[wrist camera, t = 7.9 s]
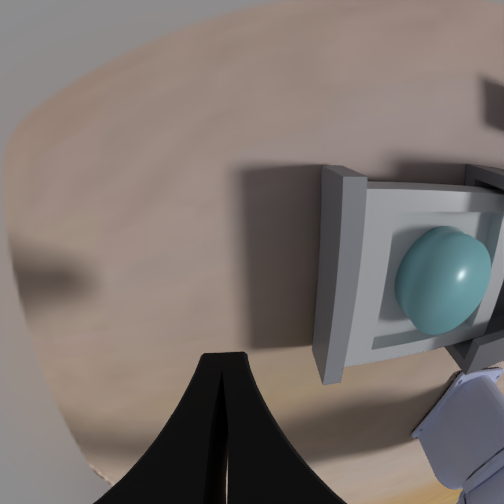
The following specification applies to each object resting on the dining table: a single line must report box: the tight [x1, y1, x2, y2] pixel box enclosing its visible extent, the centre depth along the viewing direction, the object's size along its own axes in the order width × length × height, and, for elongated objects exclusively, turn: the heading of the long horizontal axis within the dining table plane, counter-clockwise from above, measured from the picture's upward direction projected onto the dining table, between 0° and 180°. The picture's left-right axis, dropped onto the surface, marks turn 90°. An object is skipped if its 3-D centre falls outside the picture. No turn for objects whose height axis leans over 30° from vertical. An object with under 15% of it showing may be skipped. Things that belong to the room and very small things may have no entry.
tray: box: [312, 166, 504, 385], centre depth 15 cm, size 11×12×3 cm
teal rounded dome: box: [395, 226, 491, 335], centre depth 14 cm, size 6×6×2 cm
